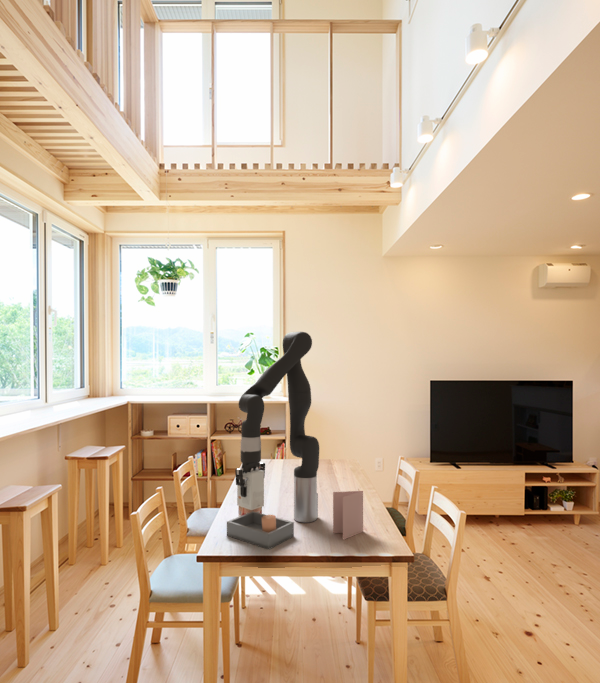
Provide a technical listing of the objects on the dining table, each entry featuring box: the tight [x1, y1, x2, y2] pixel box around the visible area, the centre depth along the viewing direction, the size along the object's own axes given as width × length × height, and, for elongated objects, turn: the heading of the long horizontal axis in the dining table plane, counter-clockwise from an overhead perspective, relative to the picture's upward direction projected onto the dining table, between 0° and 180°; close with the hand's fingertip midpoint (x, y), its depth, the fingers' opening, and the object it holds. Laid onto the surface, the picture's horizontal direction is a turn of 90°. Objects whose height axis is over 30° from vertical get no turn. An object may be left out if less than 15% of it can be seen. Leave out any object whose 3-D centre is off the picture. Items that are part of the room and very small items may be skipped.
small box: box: [236, 470, 265, 510], centre depth 166 cm, size 8×6×13 cm
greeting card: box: [332, 490, 364, 541], centre depth 165 cm, size 11×7×15 cm, turn 98°
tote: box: [226, 511, 295, 550], centre depth 164 cm, size 14×20×5 cm
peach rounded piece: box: [262, 514, 277, 533], centre depth 160 cm, size 5×5×7 cm
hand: (250, 494), depth 166 cm, fingers closed on small box, 6 cm apart
